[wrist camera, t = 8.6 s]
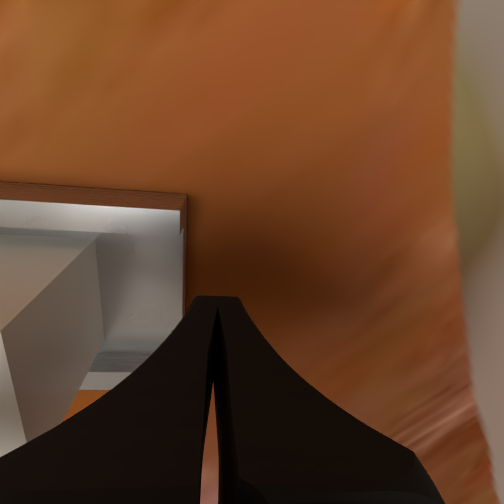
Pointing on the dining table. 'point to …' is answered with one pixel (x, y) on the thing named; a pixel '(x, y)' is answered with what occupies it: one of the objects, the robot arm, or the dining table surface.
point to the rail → (115, 261)
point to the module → (45, 331)
